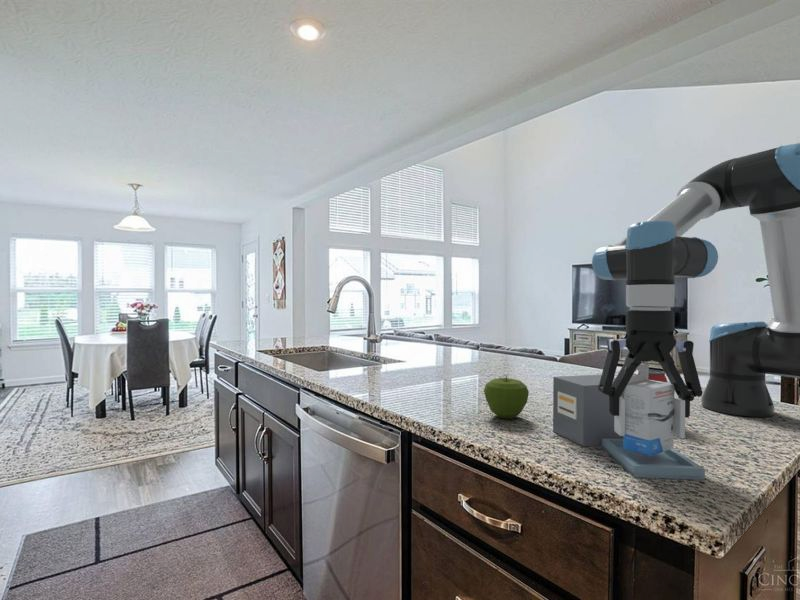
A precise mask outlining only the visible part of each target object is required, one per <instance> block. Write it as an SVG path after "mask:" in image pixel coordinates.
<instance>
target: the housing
mask: <svg viewBox="0 0 800 600" xmlns="http://www.w3.org/2000/svg"><path fill="white" fill-rule="evenodd" d="M601 376H602V374H588V375H587V374H586V375H566V376H565V375H564V376H563V375H562V376H561V375H560V376H553V388H552V389H553V393H552V395H553V397H552V398H553V399H552V400H553V403H552V404H553V405H552V408H553V410H552V432H554V433H556V434H558V435H560V436H562V437H563V438H565V439H567V440H570V441H571V442H573V443H575V444H578V445H579V446H582V447H593V446H602V438H604V439H623V436H620V435H619V434H617V433H616V432H615V431H614V416H613V415H612V414H610V411H609V396H608V395H606V394H604V393H602V392H600V391H599V390H598V387H599V383H600V380H601ZM615 379H616V377H614V379H613V382H614V380H615ZM612 384H613V383H612ZM620 397H622V398H624V391H623V393H622V395H621V396H620Z"/></svg>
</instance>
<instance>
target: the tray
mask: <svg viewBox="0 0 800 600" xmlns="http://www.w3.org/2000/svg"><path fill="white" fill-rule="evenodd" d="M601 448H602V450H604V451H605V452H606V453H607V454H608V455H609V456H610V457H611V458H613V459H614V461H615V462H616V463H618V464H619V465H620V466H621V467H622V468H623V469H624V470H625V471H626V472H628V473H629V474H630V475H631V476H632V477H633V478H643V479H644V478H647V479H648V478H649V479H651V478H653V479H668V480H669V479H674V480H697V481H705V480H706V479H705V478H706V468H704V467H703V466H701V465H700V464H698V463H696V462H695V461H693V460H692V459H691V458H689V457H687V455H686V456H685V455H684V454H683V453H681V452H680V451H678V450H676V449H675V448H672V449H669V450H667V451H664V452H661V453H658V454H656V455H653V456H646V455H643V454H639V453H636V452H633V451H629V450H626V449H623V439H604V438H602V445H601Z"/></svg>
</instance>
